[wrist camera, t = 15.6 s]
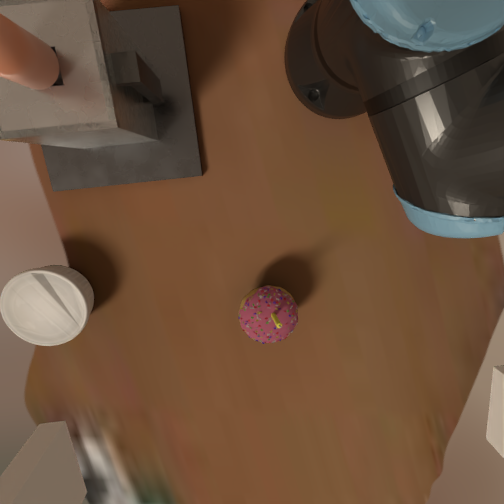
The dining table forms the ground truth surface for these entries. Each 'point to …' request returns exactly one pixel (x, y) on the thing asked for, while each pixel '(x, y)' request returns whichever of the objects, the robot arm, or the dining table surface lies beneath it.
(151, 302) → the dining table surface
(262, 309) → the cupcake
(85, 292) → the ramekin
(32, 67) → the salmon orange cylinder
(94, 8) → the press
